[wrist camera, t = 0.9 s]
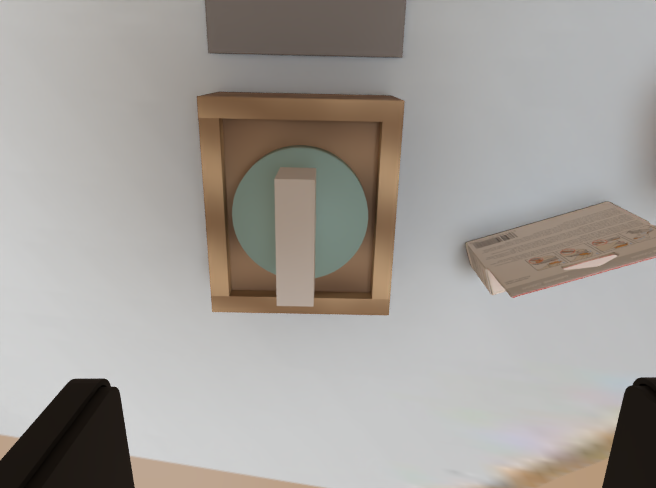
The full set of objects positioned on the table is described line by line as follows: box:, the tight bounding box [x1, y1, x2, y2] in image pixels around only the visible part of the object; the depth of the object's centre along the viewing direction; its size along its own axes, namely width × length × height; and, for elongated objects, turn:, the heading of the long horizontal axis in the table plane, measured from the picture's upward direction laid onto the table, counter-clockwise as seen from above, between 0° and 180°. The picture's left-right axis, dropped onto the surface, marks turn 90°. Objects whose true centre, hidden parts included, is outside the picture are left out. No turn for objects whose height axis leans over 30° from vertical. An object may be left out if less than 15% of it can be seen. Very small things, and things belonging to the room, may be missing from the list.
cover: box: [232, 145, 368, 307], centre depth 28 cm, size 8×8×7 cm
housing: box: [197, 92, 404, 315], centre depth 33 cm, size 14×12×6 cm
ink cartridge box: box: [466, 202, 656, 298], centre depth 32 cm, size 2×11×10 cm, turn 108°
